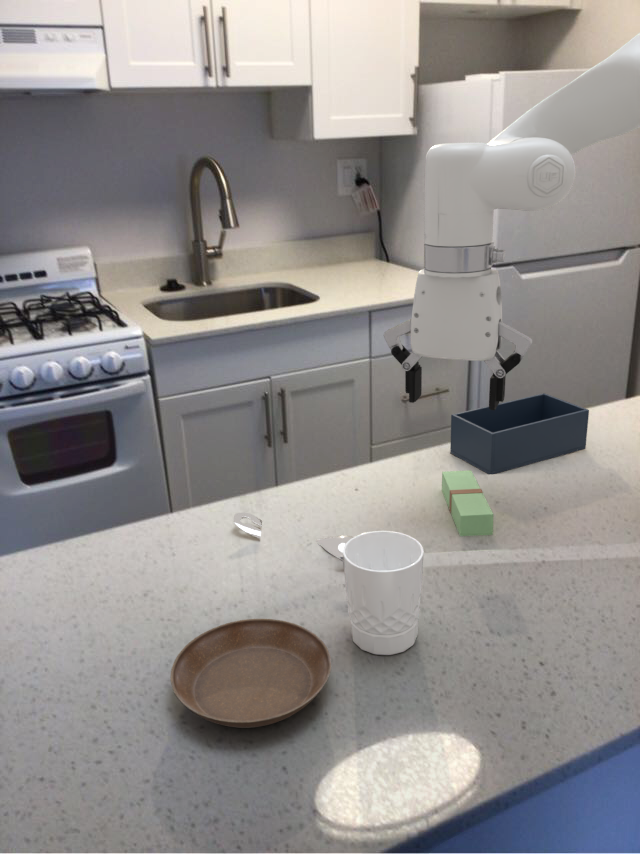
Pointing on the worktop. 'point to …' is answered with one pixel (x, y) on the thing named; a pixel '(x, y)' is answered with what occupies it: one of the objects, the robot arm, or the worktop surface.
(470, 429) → the bin
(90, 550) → the worktop surface
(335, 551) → the ceramic shards
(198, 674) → the saucer
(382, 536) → the white cup
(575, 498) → the worktop surface
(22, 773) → the worktop surface
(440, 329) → the robot arm
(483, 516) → the light green rectangular block
